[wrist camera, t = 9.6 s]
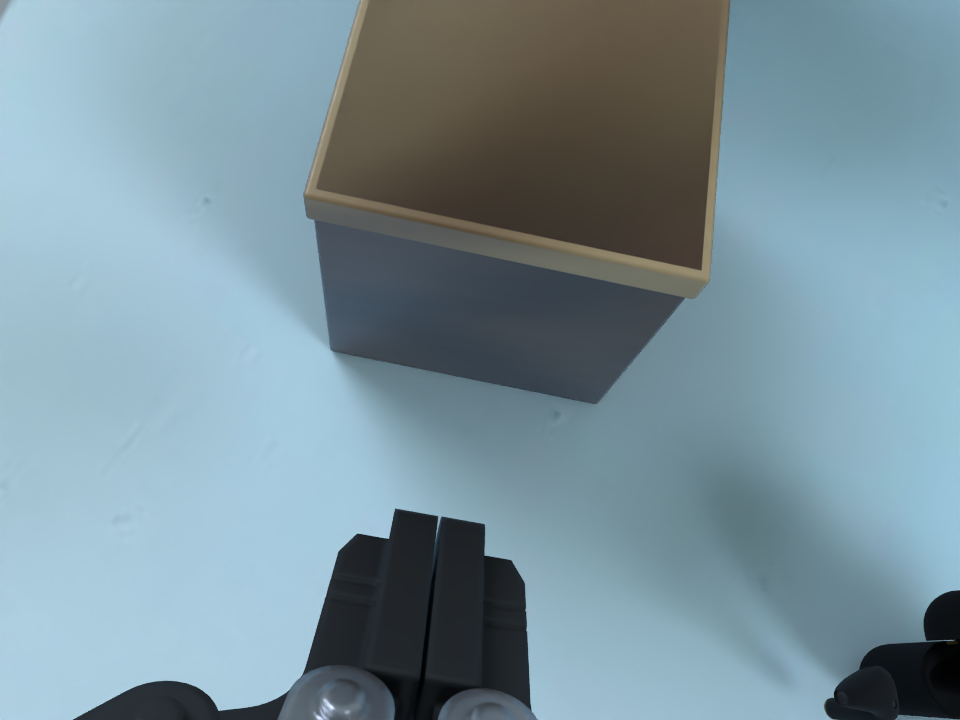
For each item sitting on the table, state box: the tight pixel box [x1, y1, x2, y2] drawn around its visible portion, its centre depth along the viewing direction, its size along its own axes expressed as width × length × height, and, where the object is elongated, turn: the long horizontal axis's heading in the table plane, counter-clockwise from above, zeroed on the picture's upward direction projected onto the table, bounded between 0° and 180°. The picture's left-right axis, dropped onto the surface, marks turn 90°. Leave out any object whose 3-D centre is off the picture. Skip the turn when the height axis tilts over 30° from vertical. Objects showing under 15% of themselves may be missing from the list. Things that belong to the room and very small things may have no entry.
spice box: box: [303, 0, 730, 404], centre depth 19 cm, size 7×8×8 cm
